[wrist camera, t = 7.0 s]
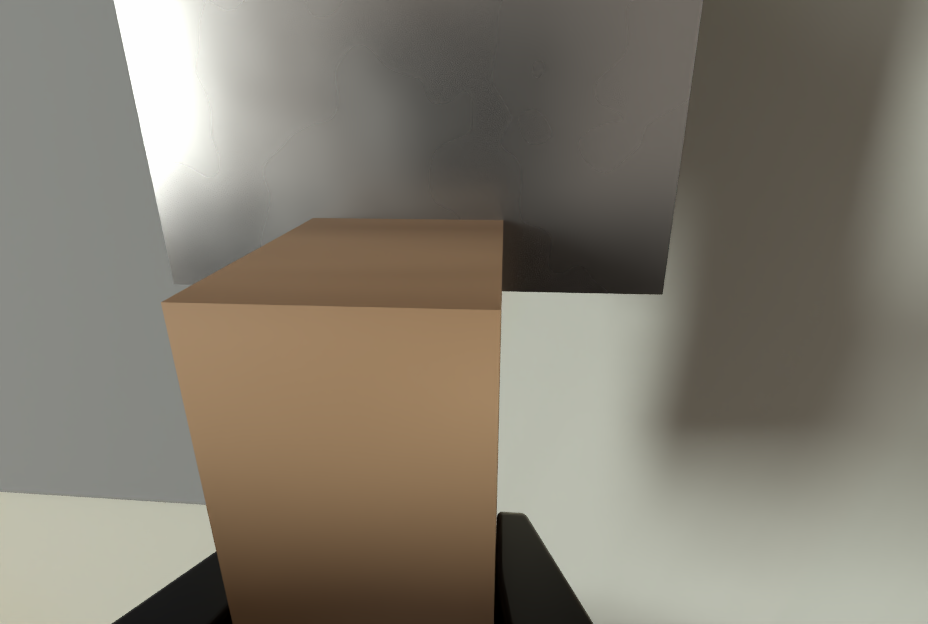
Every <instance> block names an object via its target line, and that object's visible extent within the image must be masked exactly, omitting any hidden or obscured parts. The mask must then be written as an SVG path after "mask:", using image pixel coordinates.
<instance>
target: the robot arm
mask: <svg viewBox="0 0 928 624" xmlns="http://www.w3.org/2000/svg"><path fill="white" fill-rule="evenodd" d="M112 624H233V623H232V619H231V614H230V610H229V605H228V601H227V596H226V592H225V587H224V583H223V578H222V574H221V569H220V565H219V560H218V556H217V551H216V552H215V553H213V554H212V555H210V556H209V557H207V558H206V559H204V560H203V561H202V562H200V563H199V564H197V565H196V566H194V567H193V568H191V569H190V570H189V571H187V572H186V573H184V574H183V575H181V576H180V577H178V578H177V579H176V580H174V581H173V582H171V583H170V584H168V585H167V586H165V587H164V588H163V589H161V590H160V591H158V592H157V593H155V594H154V595H152V596H151V597H150V598H148V599H147V600H145V601H144V602H142V603H141V604H140V605H138V606H137V607H135V608H134V609H132V610H131V611H129V612H128V613H127V614H125V615H124V616H122V617H121V618H119V619H118V620H116V621H115V622H114V623H112ZM494 624H593V622H592V621H591V619H590V617H589V616H588V614H587V613H586V611H585V609H584V608H583V606H582V605H581V603H580V601H579V600H578V598H577V596H576V595H575V593H574V592H573V590H572V588H571V587H570V585H569V584H568V582H567V580H566V579H565V577H564V575H563V574H562V572H561V571H560V569H559V567H558V566H557V564H556V563H555V561H554V559H553V558H552V556H551V554H550V553H549V551H548V550H547V548H546V546H545V545H544V543H543V542H542V540H541V538H540V537H539V535H538V533H537V532H536V530H535V529H534V527H533V525H532V524H531V522H530V521H529V519H528V517H527V516H526V515H525V514H523V513H512V512H500V513H498V515H497V526H496V554H495V593H494Z"/></svg>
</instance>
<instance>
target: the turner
mask: <svg viewBox="0 0 928 624" xmlns="http://www.w3.org/2000/svg"><path fill="white" fill-rule="evenodd" d="M114 3H115V7H116V12H117V17H118V22H119V26H120V31H121V36H122V41H123V45H124V50H125V55H126V59H127V64H128V69H129V74H130V78H131V83H132V88H133V93H134V97H135V102H136V107H137V112H138V116H139V121H140V126H141V131H142V135H143V140H144V145H145V149H146V154H147V159H148V164H149V168H150V173H151V178H152V183H153V187H154V192H155V197H156V202H157V206H158V211H159V216H160V220H161V225H162V230H163V235H164V239H165V244H166V249H167V254H168V258H169V263H170V268H171V273H172V277H173V282H174V284H179V285H191V286H189V287H188V288H186V289H184V290H182V291H180V292H179V293H177V294H175V295H173V296H171V297H170V298H168V299H166V300H164V301H162V302H161V305H162V310H163V314H164V319H165V323H166V328H167V332H168V337H169V341H170V346H171V350H172V354H173V359H174V363H175V368H176V372H177V377H178V381H179V386H180V390H181V395H182V399H183V404H184V408H185V413H186V417H187V422H188V426H189V431H190V435H191V440H192V444H193V448H194V453H195V457H196V462H197V466H198V471H199V475H200V480H201V484H202V489H203V493H204V498H205V502H206V507H207V511H208V516H209V520H210V525H211V529H212V533H213V538H214V542H215V547H216V551H217V556H218V560H219V565H220V569H221V574H222V578H223V583H224V587H225V592H226V596H227V601H228V605H229V610H230V614H231V619H232V623H233V624H494V593H495V554H496V516H497V473H498V430H499V387H500V345H501V302H502V291H517V292H565V293H614V294H663V286H664V279H665V272H666V265H667V258H668V250H669V243H670V236H671V229H672V222H673V214H674V207H675V200H676V193H677V186H678V178H679V171H680V164H681V157H682V150H683V143H684V135H685V128H686V121H687V114H688V107H689V99H690V92H691V85H692V78H693V71H694V63H695V56H696V49H697V42H698V35H699V27H700V20H701V13H702V6H703V0H114Z"/></svg>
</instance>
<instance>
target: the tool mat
mask: <svg viewBox="0 0 928 624" xmlns="http://www.w3.org/2000/svg"><path fill="white" fill-rule="evenodd" d="M189 286H191V285H179V284H174V282H173V277H172V273H171V268H170V263H169V258H168V254H167V249H166V244H165V239H164V235H163V230H162V225H161V220H160V216H159V211H158V206H157V202H156V197H155V192H154V187H153V183H152V178H151V173H150V168H149V164H148V159H147V154H146V149H145V145H144V140H143V135H142V131H141V126H140V121H139V116H138V112H137V107H136V102H135V97H134V93H133V88H132V83H131V78H130V74H129V69H128V64H127V59H126V55H125V50H124V45H123V41H122V36H121V31H120V26H119V22H118V17H117V12H116V7H115V3H114V0H0V492H13V493H29V494H45V495H61V496H76V497H92V498H108V499H124V500H139V501H155V502H171V503H187V504H202V505H206V502H205V498H204V493H203V489H202V484H201V480H200V475H199V471H198V466H197V462H196V457H195V453H194V448H193V444H192V440H191V435H190V431H189V426H188V422H187V417H186V413H185V408H184V404H183V399H182V395H181V390H180V386H179V381H178V377H177V372H176V368H175V363H174V359H173V354H172V350H171V346H170V341H169V337H168V332H167V328H166V323H165V319H164V314H163V310H162V305H161V302H162V301H164V300H166V299H168V298H170V297H171V296H173V295H175V294H177V293H179V292H180V291H182V290H184V289H186V288H188V287H189Z"/></svg>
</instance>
